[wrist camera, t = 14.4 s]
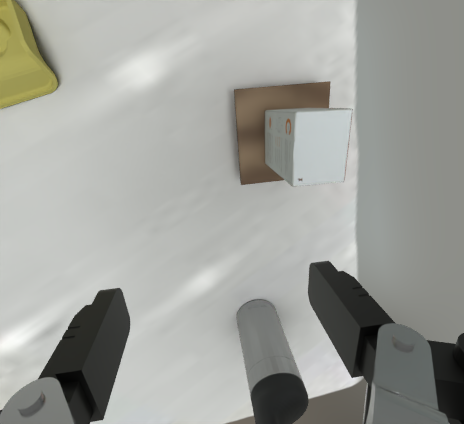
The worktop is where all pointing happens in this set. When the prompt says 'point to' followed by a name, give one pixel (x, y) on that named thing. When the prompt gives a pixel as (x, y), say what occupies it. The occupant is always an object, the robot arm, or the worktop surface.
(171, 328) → the worktop surface
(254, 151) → the walnut stand
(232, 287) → the worktop surface
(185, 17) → the worktop surface
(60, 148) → the worktop surface
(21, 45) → the plastic component
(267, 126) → the small box
